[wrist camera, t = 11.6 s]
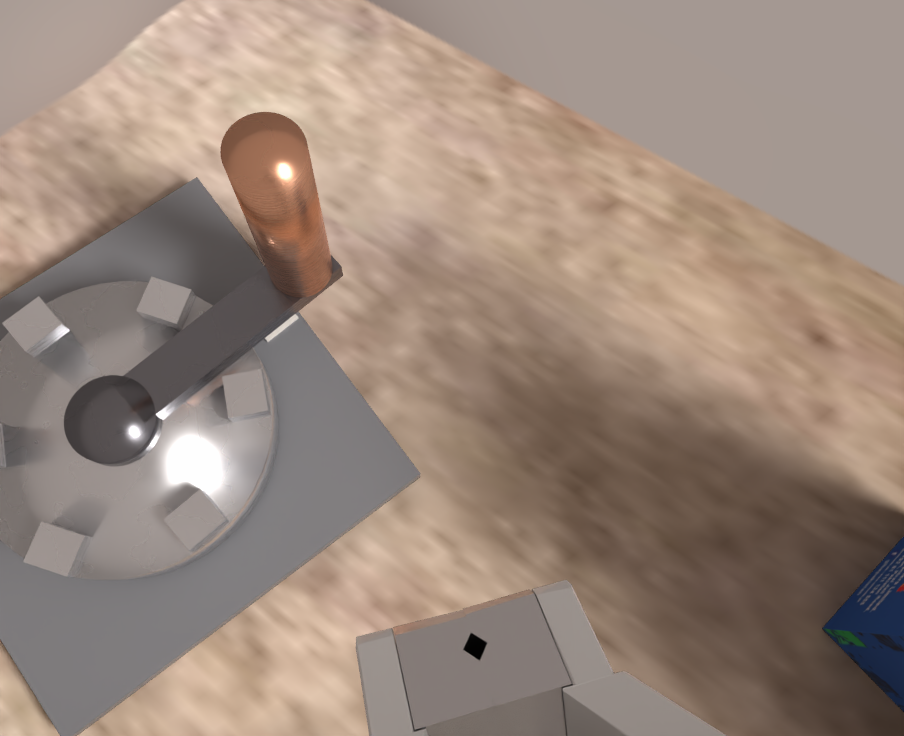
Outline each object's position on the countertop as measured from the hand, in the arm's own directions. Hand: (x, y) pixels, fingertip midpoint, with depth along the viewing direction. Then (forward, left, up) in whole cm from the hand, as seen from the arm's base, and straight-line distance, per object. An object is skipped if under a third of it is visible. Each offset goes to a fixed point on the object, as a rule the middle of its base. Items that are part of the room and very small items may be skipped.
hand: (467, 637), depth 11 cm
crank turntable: (+15, +4, -29) cm, 33 cm away
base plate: (+15, +6, -31) cm, 35 cm away
